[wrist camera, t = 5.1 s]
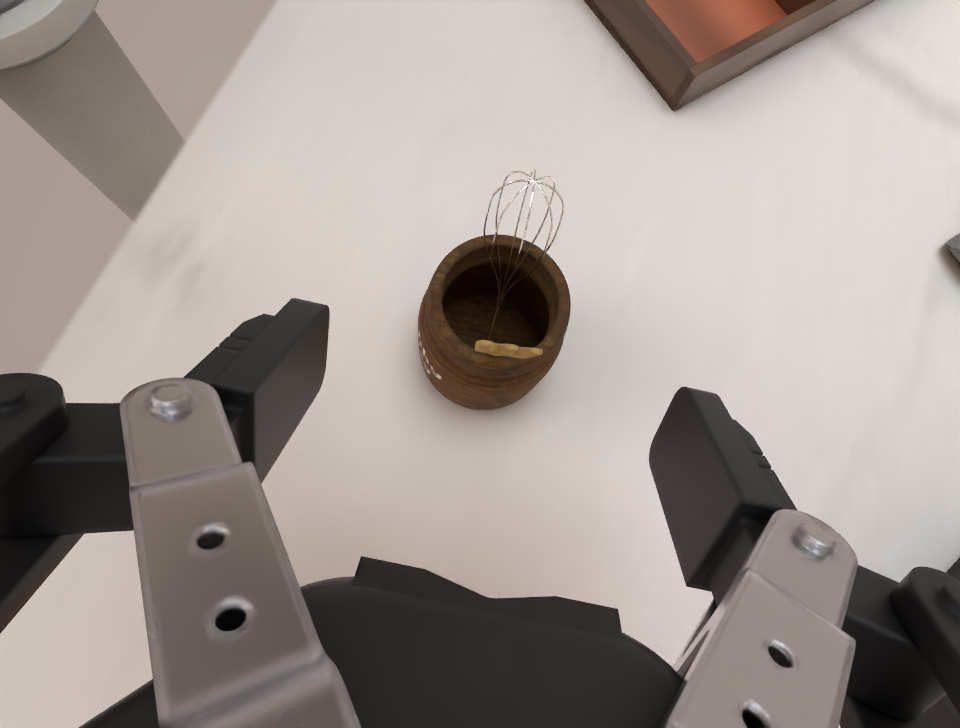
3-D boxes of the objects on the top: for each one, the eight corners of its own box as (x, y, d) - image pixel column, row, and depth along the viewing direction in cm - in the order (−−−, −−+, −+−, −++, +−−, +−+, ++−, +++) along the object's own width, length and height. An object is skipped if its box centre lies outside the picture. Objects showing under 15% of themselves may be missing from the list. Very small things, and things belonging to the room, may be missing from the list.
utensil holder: (548, 302, 26) (644, 147, 14) (535, 428, 24) (631, 368, 13) (430, 283, 26) (431, 109, 14) (408, 410, 24) (389, 330, 13)
